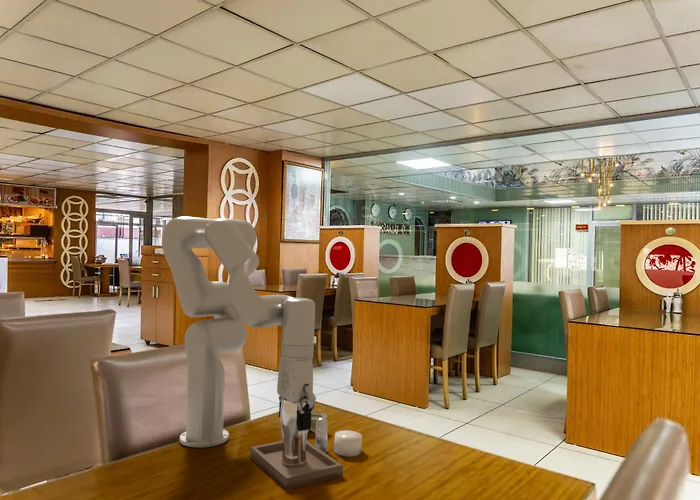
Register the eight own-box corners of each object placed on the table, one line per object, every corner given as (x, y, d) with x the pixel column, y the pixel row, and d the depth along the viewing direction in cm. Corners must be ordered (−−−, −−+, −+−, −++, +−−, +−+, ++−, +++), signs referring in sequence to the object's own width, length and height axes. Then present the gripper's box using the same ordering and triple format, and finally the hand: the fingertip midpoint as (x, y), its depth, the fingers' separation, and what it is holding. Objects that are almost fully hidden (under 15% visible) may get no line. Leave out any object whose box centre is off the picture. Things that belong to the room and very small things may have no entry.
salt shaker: (312, 450, 131) (313, 417, 131) (323, 448, 133) (324, 415, 133) (318, 454, 128) (319, 420, 129) (329, 452, 130) (330, 418, 130)
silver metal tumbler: (274, 465, 119) (276, 400, 119) (284, 454, 125) (286, 392, 126) (303, 469, 117) (305, 403, 117) (312, 457, 124) (314, 395, 124)
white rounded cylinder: (330, 454, 129) (332, 438, 129) (336, 444, 135) (338, 428, 135) (358, 458, 127) (359, 442, 127) (363, 447, 134) (364, 432, 134)
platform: (338, 442, 138) (338, 418, 138) (272, 438, 140) (272, 414, 140) (341, 427, 150) (342, 405, 150) (280, 424, 152) (281, 402, 152)
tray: (250, 457, 125) (250, 447, 126) (301, 447, 133) (301, 437, 133) (286, 490, 109) (286, 478, 109) (342, 476, 116) (342, 465, 116)
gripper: (267, 345, 126) (264, 414, 126) (300, 359, 112) (296, 438, 112) (295, 343, 131) (292, 410, 131) (329, 356, 116) (326, 432, 116)
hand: (294, 423), depth 121 cm, fingers open, 9 cm apart
